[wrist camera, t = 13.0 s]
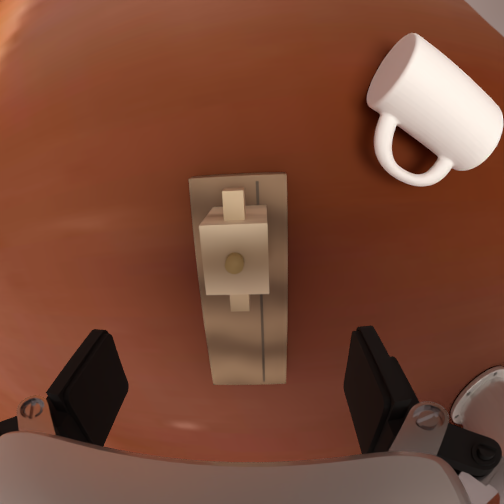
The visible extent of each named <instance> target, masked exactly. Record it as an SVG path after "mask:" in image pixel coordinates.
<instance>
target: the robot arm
mask: <svg viewBox="0 0 504 504" xmlns="http://www.w3.org/2000/svg"><path fill="white" fill-rule="evenodd" d="M127 392H128V381H127V379H126V376H125V373H124V370H123V367H122V365H121V362H120V359H119V356H118V353H117V350H116V347H115V344H114V340H113V337H112V335H111V334H109V333H108V332H107V331H106V330H97V329H94V330H92V331H91V332H90V334H89V335H88V336H87V338H86V339H85V340H84V342H83V343H82V344H81V345H80V347H79V348H78V349H77V351H76V352H75V353H74V355H73V356H72V357H71V359H70V360H69V361H68V363H67V364H66V366H65V367H64V368H63V370H62V371H61V372H60V374H59V375H58V377H57V378H56V379H55V381H54V382H53V384H52V385H51V386H50V388H49V389H48V391H47V392H46V393H47V395H48V397H47V398H46V399H45V398H44V397H42V396H37V395H34V396H30V397H27V398H25V399H24V400H23V401H22V402H21V403H20V404H19V406H18V408H17V416H15V417H13V418H10V419H7V420H4V421H2V422H0V504H504V367H503V366H497V367H494V368H491V369H489V370H487V371H485V372H484V373H482V374H481V375H479V376H478V377H476V378H475V379H474V380H473V381H472V382H471V383H470V384H469V385H468V386H467V387H466V388H465V389H464V390H463V391H462V392H461V393H460V395H459V396H458V397H457V399H456V400H455V402H454V404H453V406H452V409H451V418H452V420H453V421H454V422H455V423H457V424H462V425H463V428H461V427H458V426H455V425H453V424H450V423H449V416H448V413H447V411H446V410H445V409H444V408H443V407H442V406H441V405H439V404H437V403H434V402H421V403H419V401H418V399H417V397H416V395H415V393H414V391H413V389H412V387H411V385H410V383H409V382H408V380H407V378H406V376H405V374H404V372H403V370H402V369H401V367H400V365H399V363H398V361H397V360H396V358H395V357H390V356H389V355H388V353H387V351H386V349H385V347H384V345H383V343H382V342H381V340H380V338H379V336H378V334H377V333H376V331H375V329H374V327H373V326H363V327H358V328H357V330H356V331H353V332H352V336H351V343H350V349H349V356H348V362H347V368H346V373H345V379H344V392H345V396H346V399H347V402H348V406H349V409H350V413H351V416H352V420H353V423H354V427H355V430H356V434H357V437H358V441H359V445H360V448H361V452H362V454H360V455H351V456H343V457H335V458H325V459H314V460H302V461H286V462H215V461H199V460H187V459H177V458H168V457H160V456H153V455H146V454H140V453H134V452H128V451H122V450H117V449H112V448H108V447H103V446H104V443H105V441H106V439H107V436H108V434H109V432H110V429H111V427H112V425H113V423H114V420H115V418H116V416H117V414H118V411H119V409H120V407H121V405H122V403H123V400H124V398H125V396H126V394H127Z"/></svg>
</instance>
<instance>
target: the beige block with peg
mask: <svg viewBox="0 0 504 504" xmlns="http://www.w3.org/2000/svg"><path fill="white" fill-rule="evenodd" d="M222 199H223V207H213V208H212V209H211V210H210V212H209V213H208V214H207V216H206V217H205V218H204V220H203V221H202V222H201V224H200V225H199V232H200V242H201V252H202V262H203V271H204V280H205V289H206V295H230V306H231V312H233V311H250V294H269V261H268V225H267V208H266V205H251V206H245V189H244V187H242V188H224V190H223V191H222Z"/></svg>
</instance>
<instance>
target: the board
mask: <svg viewBox="0 0 504 504" xmlns="http://www.w3.org/2000/svg"><path fill="white" fill-rule="evenodd" d="M242 187H244V189H245V206H251V205H266V208H267V225H268V261H269V294H250V311H233V312H231V306H230V295H206V289H205V280H204V271H203V262H202V252H201V242H200V232H199V225H200V224H201V222H202V221H203V220H204V218H205V217H206V216H207V214H208V213H209V212H210V210H211V209H212V208H213V207H223V199H222V191H223V190H224V188H242ZM189 191H190V203H191V214H192V225H193V235H194V245H195V254H196V263H197V272H198V280H199V288H200V296H201V304H202V312H203V319H204V326H205V333H206V340H207V347H208V354H209V360H210V366H211V373H212V379H213V385H260V384H286V364H287V314H288V220H287V174H286V173H285V172H266V173H241V174H222V175H206V176H193V177H191V178H189Z"/></svg>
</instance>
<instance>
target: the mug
mask: <svg viewBox="0 0 504 504" xmlns="http://www.w3.org/2000/svg"><path fill="white" fill-rule="evenodd" d="M367 104H368V106H369V107H370V108H371V109H373V110H375V111H376V112H378V113H379V114H380V117H379V120H378V123H377V126H376V130H375V135H374V149H375V154H376V157H377V159H378V161H379V163H380V164H381V166H382V167H383V168H384V169H385V170H386V171H387V172H388V173H389V174H390V175H391V176H393V177H394V178H396V179H398V180H399V181H402V182H404V183H406V184H409V185H413V186H429V185H433V184H435V183H437V182H439V181H440V180H442V179H443V178H444V177H445V176H446V175H447V174H448V172H449V171H450V170H451V168H453V169H455V170H458V171H465V170H469V169H472V168H474V167H476V166H478V165H479V164H481V163H482V162H484V161H485V160H486V159H487V158H488V157H489V156H490V154H491V153H492V152H493V151H494V149H495V148H496V146H497V144H498V142H499V140H500V137H501V134H502V130H503V115H502V112H501V110H500V108H499V107H498V105H497V104H496V103H495V102H494V101H493V100H492V99H491V98H490V97H489V96H488V95H487V94H486V93H485V92H484V91H483V90H482V89H481V88H480V87H479V86H478V85H477V84H476V83H475V82H474V81H473V80H472V79H471V78H470V77H469V76H468V75H467V74H466V73H464V72H463V71H462V70H461V69H460V68H459V67H458V66H457V65H455V64H454V63H453V62H452V61H451V60H450V59H448V58H447V57H446V56H445V55H444V54H442V53H441V52H440V51H439V50H438V49H436V48H435V47H434V46H432V45H431V44H430V43H429V42H427V41H426V40H425V39H423V38H422V37H421V36H419V35H418V34H416V33H410V34H408V35H406V36H404V37H403V38H402V39H400V40H399V41H398V42H397V43H396V44H395V45H394V47H393V48H392V49H391V50H390V51H389V53H388V54H387V55H386V57H385V58H384V60H383V61H382V63H381V64H380V66H379V68H378V69H377V71H376V73H375V75H374V77H373V79H372V81H371V84H370V87H369V89H368V93H367ZM396 126H398V127H400V128H401V129H403V130H404V131H405V132H407V133H408V134H409V135H411V136H412V137H414V138H415V139H416V140H418V141H419V142H420V143H422V144H423V145H424V146H425V147H427V148H428V149H429V150H431V151H432V152H433V153H434V154H436V155H437V156H438V159H437V160H436V162H435V164H434V165H433V166H432V167H431V168H430V169H429V170H428V171H427V172H425V173H423V174H413V173H410V172H408V171H406V170H404V169H402V168H401V167H400V166H399V165H398V164H397V163H396V162H395V160H394V158H393V155H392V140H393V135H394V131H395V128H396Z"/></svg>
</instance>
